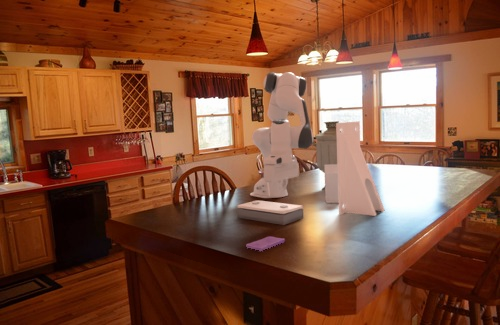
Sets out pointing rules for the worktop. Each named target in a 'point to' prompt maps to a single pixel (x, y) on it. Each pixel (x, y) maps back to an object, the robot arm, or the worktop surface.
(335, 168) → the milk carton
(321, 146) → the samovar
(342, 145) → the white bracket plate
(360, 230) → the worktop surface
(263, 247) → the sponges
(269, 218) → the shallow grey box
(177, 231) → the worktop surface
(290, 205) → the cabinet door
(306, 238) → the worktop surface
